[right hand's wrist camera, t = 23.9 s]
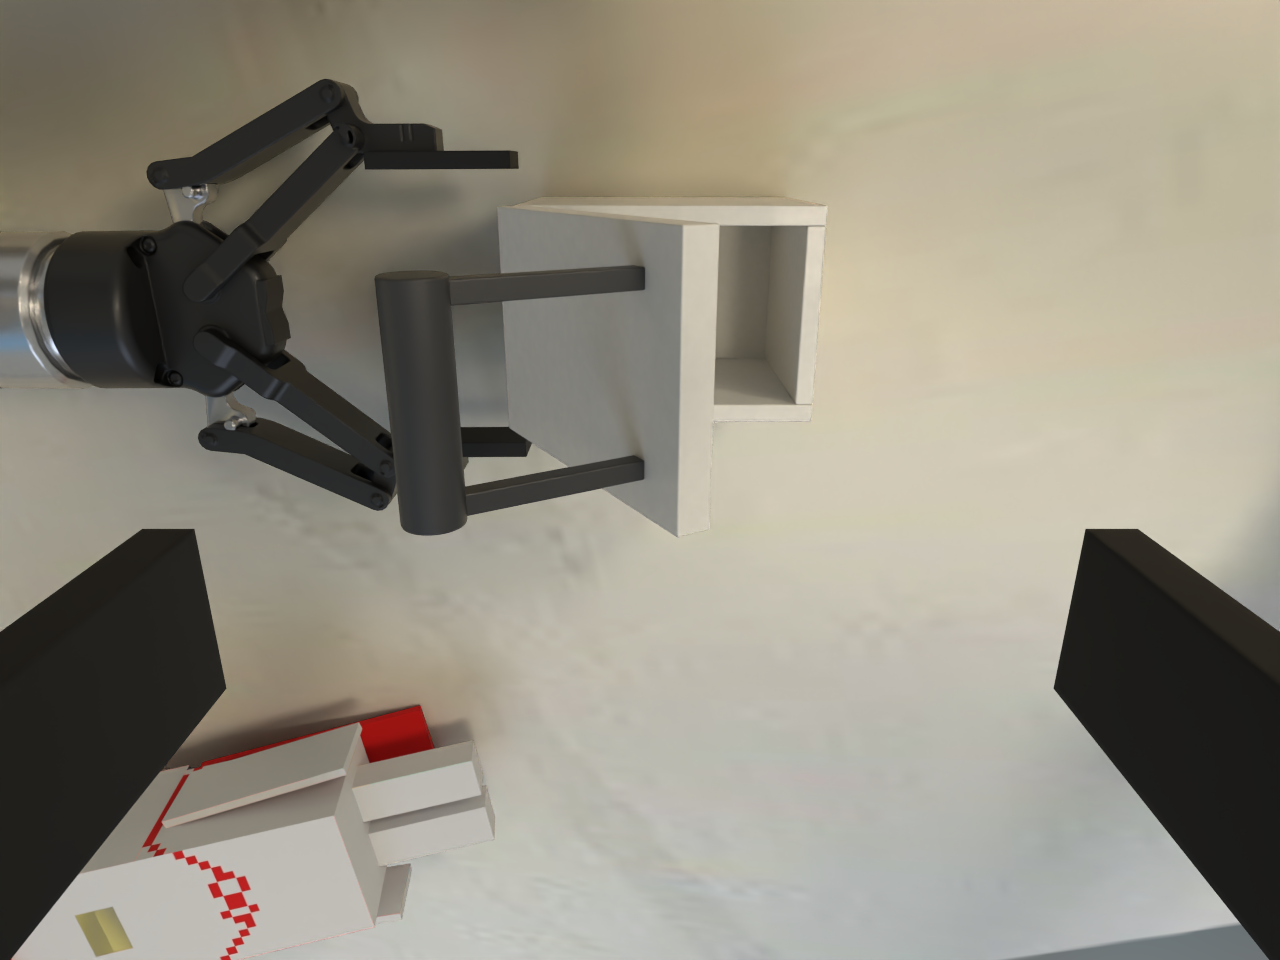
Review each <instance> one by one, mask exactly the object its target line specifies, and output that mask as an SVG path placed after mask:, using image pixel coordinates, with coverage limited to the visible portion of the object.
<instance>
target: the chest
mask: <svg viewBox="0 0 1280 960" xmlns="http://www.w3.org/2000/svg"><path fill="white" fill-rule="evenodd" d="M514 206H534V207H545V208H556V209H567V210H578V211H588V212H599V213H610V214H621V215H632V216H642V217H653V218H664V219H675V220H685V221H696V222H707V223H718V224H719V225H720V228H719V259H718V289H717V320H716V350H715V380H714V411H713V422H810V421H811V420H812V410H813V405H812V403H813V396H814V383H815V369H816V356H817V343H818V330H819V316H820V303H821V290H822V276H823V263H824V250H825V236H826V225H827V212H828V206H827V205H822V204H817V203H812V202H807V201H802V200H797V199H792V198H786V197H540V198H537V199H533V200H530V201H527V202H523V203H520V204H517V205H514Z"/></svg>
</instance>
